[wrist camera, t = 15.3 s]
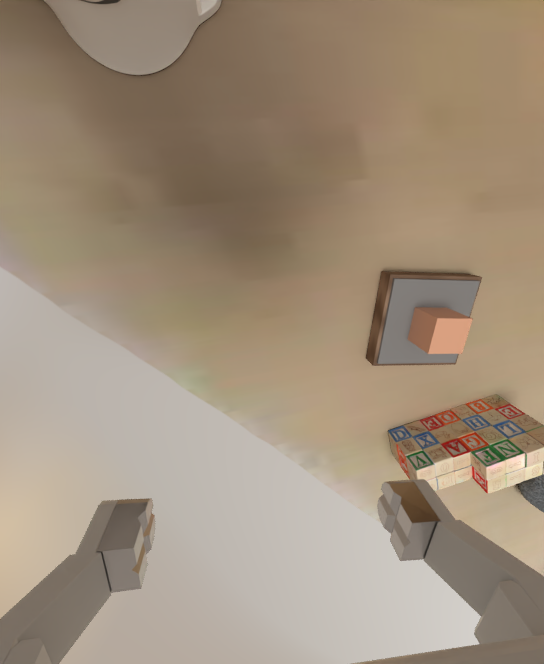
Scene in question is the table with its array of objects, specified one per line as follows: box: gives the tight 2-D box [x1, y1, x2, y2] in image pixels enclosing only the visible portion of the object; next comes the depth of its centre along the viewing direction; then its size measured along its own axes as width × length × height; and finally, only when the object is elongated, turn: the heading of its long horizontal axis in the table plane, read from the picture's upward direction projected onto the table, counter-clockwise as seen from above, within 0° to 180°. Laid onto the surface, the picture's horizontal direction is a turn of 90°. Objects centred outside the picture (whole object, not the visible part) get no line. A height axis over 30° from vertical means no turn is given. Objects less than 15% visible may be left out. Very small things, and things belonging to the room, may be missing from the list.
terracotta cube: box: [407, 307, 473, 354], centre depth 41 cm, size 5×5×5 cm
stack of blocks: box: [388, 395, 544, 494], centre depth 49 cm, size 21×6×12 cm, turn 107°
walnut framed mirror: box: [366, 271, 482, 366], centre depth 44 cm, size 14×14×3 cm
